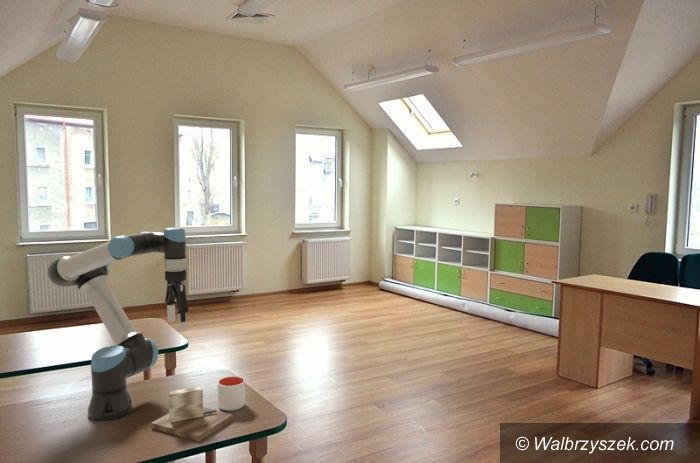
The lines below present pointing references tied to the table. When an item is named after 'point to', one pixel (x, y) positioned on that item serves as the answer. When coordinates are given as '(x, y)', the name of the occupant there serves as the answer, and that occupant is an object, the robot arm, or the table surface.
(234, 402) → the cup
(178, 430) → the board
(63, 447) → the table surface
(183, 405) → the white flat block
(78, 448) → the table surface
